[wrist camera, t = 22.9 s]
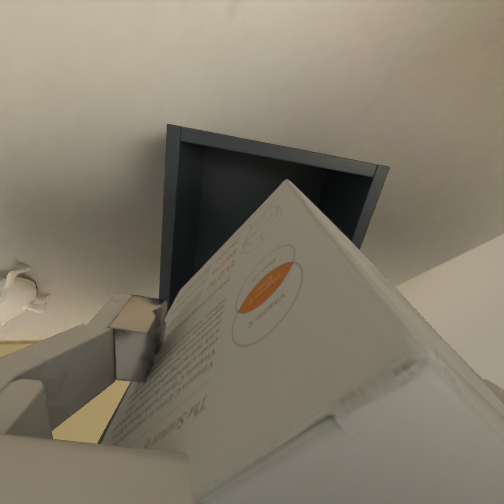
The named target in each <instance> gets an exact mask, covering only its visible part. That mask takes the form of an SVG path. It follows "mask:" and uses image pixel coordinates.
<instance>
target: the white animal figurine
mask: <svg viewBox="0 0 504 504" xmlns="http://www.w3.org/2000/svg"><path fill="white" fill-rule="evenodd" d="M29 269H30V268H26V269H19V270H13V271H10V272H9V273H8V274H7V278H6V279H4V278H0V323H1V325H4V324H6V323H7V322H8V321H9V320H10V319H13V318H15V317H17V316H19V315H20V314H22V313H23V312H24V311H25V310H30V311H33V312H36V313H42V312H43V311H44V309H45V307H46V305H47V302H48V300H49V297H50V294H49V295H48V296H47V297H46V298H45V299H44V300H43V302H41V303H40V304H33V301H34V300H35V297H36V285H35V283H34V282H33V281H31V280H29V279H24V278H19V277H16V276H17V275H18V274H20V273H22V272H25V271H27V270H29Z"/></svg>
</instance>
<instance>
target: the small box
mask: <svg viewBox="0 0 504 504" xmlns="http://www.w3.org/2000/svg"><path fill="white" fill-rule="evenodd" d="M164 320H165V322H166V330H165V336H164V340H163V343H162V346H161V349H160V351H159V353H158V354H156V355H155V356H154V364H153V366H152V369H151V371H150V373H149V375H148V377H147V380H146V381H145V382H133V381H132V383H131V385H130V387H129V389H128V390H127V393H126V395H125V397H124V399H123V401H122V403H121V405H120V406H119V408H118V410H117V412H116V414H115V416H114V418H113V420H112V422H111V424H110V426H109V428H108V430H107V432H106V434H105V436H104V439H103V441H102V443H101V444H104V445H114V446H123V447H133V448H142V449H152V450H161V451H171V452H180V453H185V454H187V455H188V457H189V459H190V465H191V466H190V495H191V497H192V499H194V500H196V501H198V502H200V503H202V504H504V404H503V403H502V402H501V400H500V399H499V398H498V397H497V396H496V395H495V394H494V393H493V392H492V391H491V390H490V389H489V388H488V386H487V385H486V384H485V383H484V382H483V381H482V380H481V379H480V378H479V377H478V376H477V375H476V374H475V372H474V371H473V370H472V369H471V368H470V367H469V366H468V365H467V364H466V363H465V362H464V361H463V360H462V359H461V357H460V356H459V355H458V354H457V353H456V352H455V351H454V350H453V349H452V348H451V347H450V346H449V345H448V343H447V342H446V341H445V340H444V339H443V338H442V337H441V336H440V335H439V334H438V333H437V332H436V331H435V330H434V329H433V328H432V326H431V325H430V324H429V323H428V322H427V321H426V320H425V319H424V318H423V317H422V316H421V315H420V314H419V312H417V310H416V309H415V308H414V307H413V306H412V305H411V304H410V303H409V302H408V301H407V300H406V298H405V297H404V296H403V295H402V294H401V293H400V292H399V291H398V290H397V289H396V288H395V287H394V286H393V285H392V284H391V282H390V281H389V280H388V279H387V278H386V277H385V276H384V275H383V274H382V273H381V272H380V271H379V270H378V269H377V268H376V267H375V266H374V265H373V264H372V263H371V262H370V261H369V260H368V258H367V257H366V256H365V255H364V254H363V253H362V252H361V251H360V250H359V249H358V248H357V247H356V246H355V245H354V244H353V243H352V242H351V241H350V240H349V239H348V238H347V237H346V236H345V235H344V234H343V233H342V232H341V231H340V230H339V229H338V228H337V227H336V226H335V225H334V224H333V223H332V222H331V221H330V220H329V219H328V218H327V217H326V216H325V215H324V214H323V213H322V212H321V211H320V210H319V209H318V208H317V207H316V206H315V205H314V204H313V203H312V202H311V201H310V200H309V199H308V198H307V197H306V196H305V195H304V194H303V193H302V192H301V191H300V190H299V189H298V188H297V187H296V186H295V185H294V184H293V183H292V182H291V181H289V180H288V179H286V180H284V181H283V182H282V184H281V185H280V186H279V187H278V188H277V189H276V190H275V191H274V192H273V193H272V194H271V195H270V196H269V197H268V199H267V200H266V201H265V202H264V203H263V204H262V205H261V206H260V207H259V208H258V209H257V210H256V211H255V212H254V213H253V214H252V215H251V216H250V217H249V218H248V219H247V221H246V222H245V223H244V224H243V225H242V226H241V227H240V228H239V229H238V230H237V231H236V232H235V233H234V234H233V235H232V236H231V237H230V238H229V239H228V241H227V242H226V243H225V244H224V245H223V246H222V247H221V248H220V249H219V250H218V251H217V252H216V253H215V254H214V255H213V256H212V257H211V258H210V259H209V260H208V261H207V263H206V264H205V265H204V266H203V267H202V268H201V269H200V270H199V271H198V272H197V273H196V274H195V275H194V276H193V277H192V278H191V279H190V280H189V281H188V282H187V283H186V284H185V285H184V286H183V287H182V288H181V289H180V291H179V293H178V295H177V296H176V298H175V300H174V302H173V304H172V306H171V308H170V310H169V311H168V313H167V315H166V317H165V319H164Z"/></svg>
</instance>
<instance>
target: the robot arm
mask: <svg viewBox="0 0 504 504" xmlns="http://www.w3.org/2000/svg"><path fill="white" fill-rule="evenodd" d="M166 312H167V301H166V300H162V299H156V298H150V297H144V296H138V295H132V294H125V293H116V294H114V295H113V296H112V298H111V299H110V300H109V301H108V302H107V303H106V304H105V305H104V307H103V308H102V309H101V310H100V311H99V312H98V313H97V314H96V315H95V317H94V318H93V319H92V320H91V321H90V322H89V323H88V324H87V325H84V324H81V325H79V326H76V327H74V328H71V329H69V330H66V331H64V332H62V333H59V334H57V335H54V336H52V337H50V338H47V339H45V340H42V341H40V342H37V343H35V344H33V345H30V346H28V347H25V348H23V349H20V350H18V351H16V352H13V353H11V354H9V355H6V356H4V357H1V358H0V504H202V503H200V502H198V501H196V500H194V499H192V497H191V495H190V466H191V465H190V459H189V457H188V455H187V454H185V453H180V452H171V451H161V450H152V449H142V448H133V447H123V446H114V445H104V444H95V443H85V442H76V441H66V440H57V439H53V436H52V430H54V429H55V428H56V427H57V426H59V425H60V424H61V423H62V422H64V421H65V420H66V419H68V418H69V417H70V416H71V415H73V414H74V413H75V412H77V411H78V410H79V409H81V408H82V407H83V406H84V405H86V404H87V403H88V402H89V401H91V400H92V399H93V398H95V397H96V396H97V395H98V394H100V393H101V392H102V391H103V390H105V389H106V388H107V387H109V386H110V385H111V384H112V383H114V382H115V380H122V381H133V382H145V381H146V380H147V377H148V375H149V373H150V371H151V369H152V366H153V364H154V356H155V355H156V354H158V353H159V351H160V349H161V346H162V343H163V340H164V336H165V330H166V322H165V320H164V317H165V314H166ZM448 345H449V344H448ZM449 346H450V345H449ZM450 347H451V346H450ZM451 348H452V347H451ZM453 350H454V349H453ZM454 351H455V350H454ZM455 352H456V351H455ZM456 353H457V352H456ZM457 354H458V353H457ZM459 356H460V355H459ZM460 357H461V356H460ZM461 359H462V357H461ZM462 360H463V359H462ZM463 361H464V360H463ZM464 362H465V361H464ZM465 363H466V362H465ZM466 364H467V363H466ZM467 365H468V364H467ZM468 366H469V365H468ZM469 367H470V366H469ZM470 368H471V367H470ZM471 369H472V368H471ZM472 370H473V369H472ZM473 371H474V370H473ZM474 372H475V371H474ZM475 374H476V375H477V376H478V377H479V378H480V379H481V380H482V381H483V382H484V383H485V384H486V385H487V386H488V388H489V389H490V390H491V391H492V392H493V393H494V394H495V395H496V396H497V397H498V398H499V399H500V400H501V402H502V403H503V404H504V390H503V389H502V388H500V387H498V386H497V385H495V384H493V383H492V382H490V381H488V380H486V379H482V378H481V377H480V376H479V375H478V374H477V373H476V372H475Z"/></svg>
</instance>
